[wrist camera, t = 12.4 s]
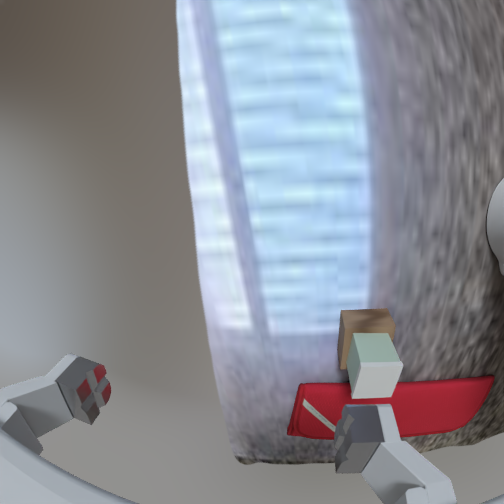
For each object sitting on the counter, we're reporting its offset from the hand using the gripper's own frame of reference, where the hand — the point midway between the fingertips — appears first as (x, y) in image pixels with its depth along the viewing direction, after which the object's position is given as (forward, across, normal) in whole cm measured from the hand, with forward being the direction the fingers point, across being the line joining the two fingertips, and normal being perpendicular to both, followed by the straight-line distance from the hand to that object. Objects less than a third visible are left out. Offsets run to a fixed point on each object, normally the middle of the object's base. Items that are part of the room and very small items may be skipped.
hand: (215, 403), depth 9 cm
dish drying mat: (+32, -26, +34) cm, 53 cm away
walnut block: (+31, -14, +16) cm, 38 cm away
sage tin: (+26, -14, +16) cm, 34 cm away
